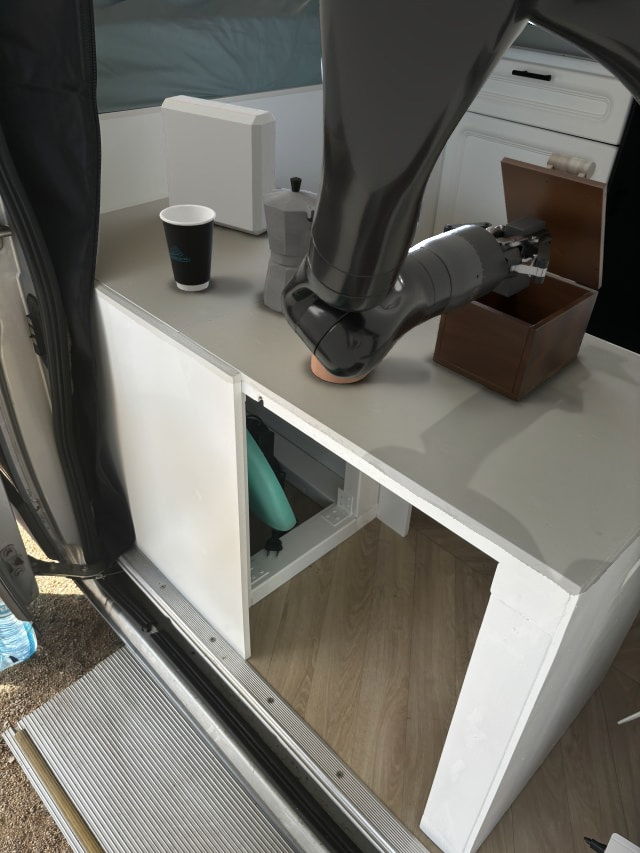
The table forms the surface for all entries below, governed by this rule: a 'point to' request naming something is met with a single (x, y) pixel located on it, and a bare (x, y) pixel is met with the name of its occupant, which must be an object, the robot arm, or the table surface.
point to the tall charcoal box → (523, 229)
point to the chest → (516, 335)
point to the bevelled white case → (220, 159)
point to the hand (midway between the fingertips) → (534, 234)
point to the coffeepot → (286, 236)
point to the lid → (561, 211)
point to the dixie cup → (189, 244)
